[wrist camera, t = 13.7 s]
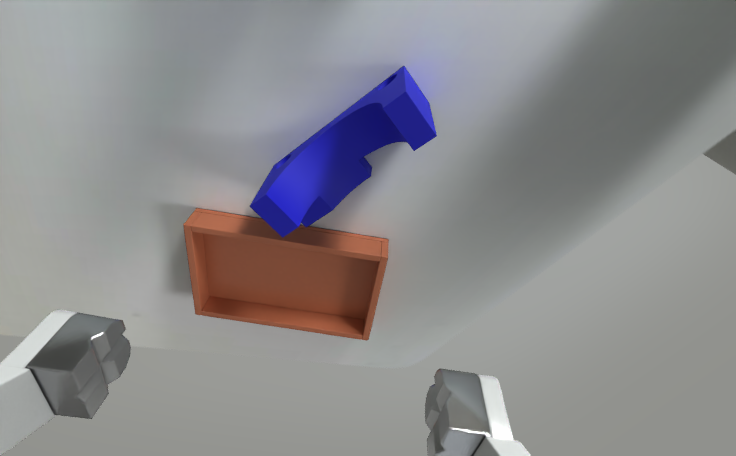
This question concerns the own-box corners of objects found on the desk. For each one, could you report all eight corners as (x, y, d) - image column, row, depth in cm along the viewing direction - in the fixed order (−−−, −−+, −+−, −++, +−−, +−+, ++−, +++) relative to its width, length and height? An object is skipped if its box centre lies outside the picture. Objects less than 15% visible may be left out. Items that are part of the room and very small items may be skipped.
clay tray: (388, 238, 33) (388, 257, 31) (369, 320, 39) (368, 340, 37) (196, 207, 33) (183, 224, 30) (206, 295, 38) (195, 314, 36)
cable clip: (313, 206, 32) (297, 252, 27) (273, 165, 30) (249, 206, 25) (440, 120, 27) (450, 156, 22) (403, 65, 25) (405, 91, 20)
